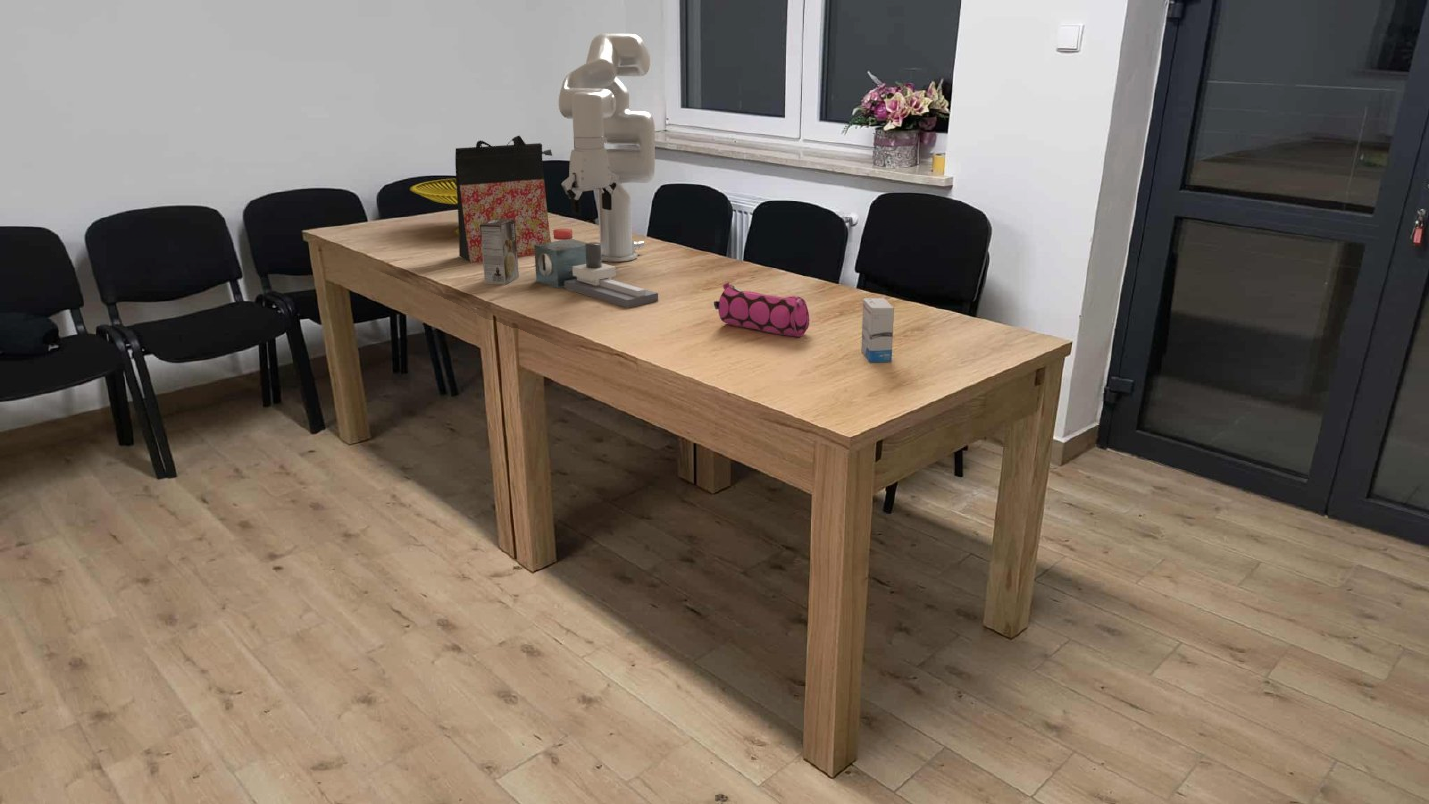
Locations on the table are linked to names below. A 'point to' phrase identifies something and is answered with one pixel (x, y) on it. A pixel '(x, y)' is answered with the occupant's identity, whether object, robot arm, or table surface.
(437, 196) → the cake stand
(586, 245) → the carriage
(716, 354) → the table surface
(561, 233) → the button
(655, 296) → the rail bed
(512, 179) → the gift bag
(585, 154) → the robot arm
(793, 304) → the pencil case
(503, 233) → the coffee box
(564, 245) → the cabinet
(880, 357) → the ink box
